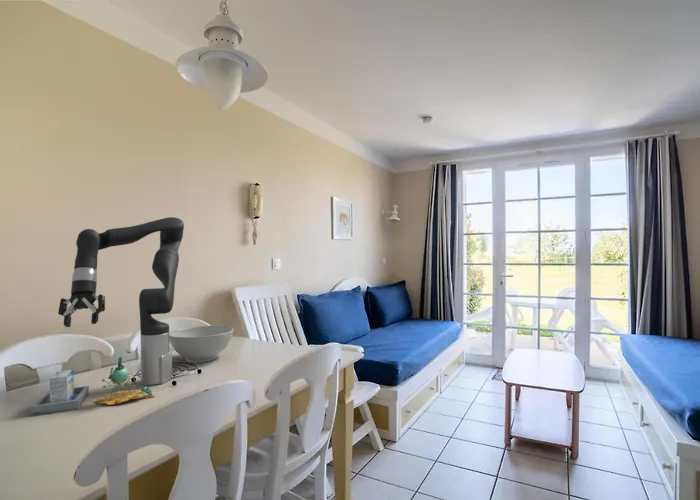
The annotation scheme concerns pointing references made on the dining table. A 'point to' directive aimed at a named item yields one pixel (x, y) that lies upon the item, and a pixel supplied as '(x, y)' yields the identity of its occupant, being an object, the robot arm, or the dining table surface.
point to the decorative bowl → (200, 341)
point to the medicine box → (62, 386)
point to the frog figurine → (118, 378)
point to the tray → (46, 407)
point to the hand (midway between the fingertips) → (80, 325)
